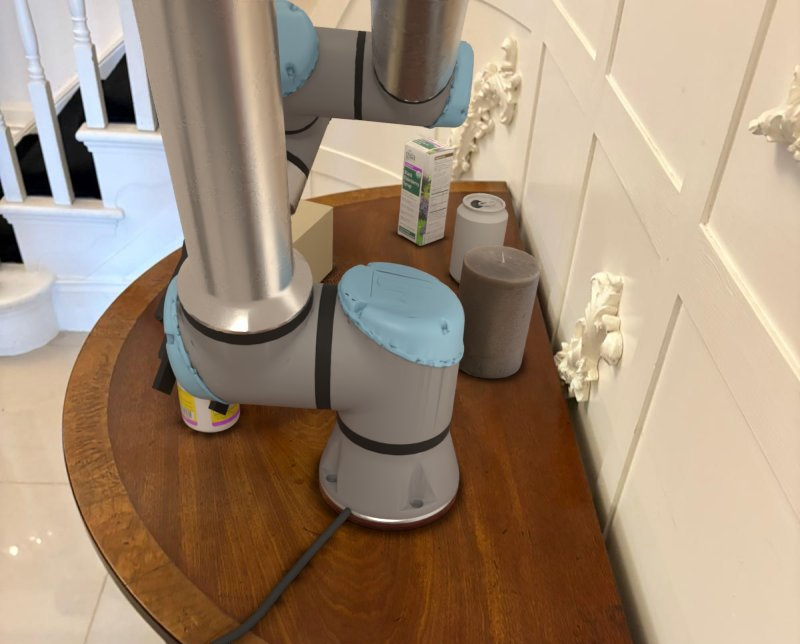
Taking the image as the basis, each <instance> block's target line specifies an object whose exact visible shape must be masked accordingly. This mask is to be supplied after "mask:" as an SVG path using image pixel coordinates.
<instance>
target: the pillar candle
mask: <svg viewBox="0 0 800 644" xmlns="http://www.w3.org/2000/svg"><path fill="white" fill-rule="evenodd" d="M542 269H543V266H542V263H541V262H540V261H539V260H538V259H537V258H535V257H534V256H533V255H531V254H529V253H528V252H527V251H524V250H521V249H517V248H515V247H511V246H505V245H503V246H500V245H491V246H480V247H476V248H473V249H471V250H469V251H467V252H466V254H465V256H464V259H463V266H462V272H461V278H460V283H459V286H458V293H457V297H458V299H459V301H460V303H461V305H462V307H463V311H464V318H465V322H464V333H463V344H464V353H463V357H462V358H461V360H460V361H459V368H458V370H460V371H462V372H463V373H465V374H467V375H469V376H472V377H476V378H481V379H502V378H507V377H510V376H512V375H514V374H516V373H517V372H518V371H519V369H520V368H521V365H522V362H523V357H524V352H525V349H526V344H527V338H528V333H529V330H530V324H531V319H532V314H533V310H534V305H535V301H536V296H537V291H538V286H539V281H540V278H541V271H542Z"/></svg>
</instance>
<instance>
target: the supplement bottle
mask: <svg viewBox="0 0 800 644" xmlns="http://www.w3.org/2000/svg"><path fill="white" fill-rule="evenodd" d="M176 387H177V388H176V389H177V392H178V400H179V406H180V412H181V418H182V420H183V422H184V423H185V424H186V425H187V426H188V427H189V428H190V429H193V430H195V431H198V432H202V433H218V432H223V431H225V430H228V429H229V428H231V427H233V426H234V425H235V424H236V423H237V422H238V420H239V419H240V416H241V406H240V405H241V404H232V405H231V404H230V405H229V408H228V410H227V413H226V416H225V415H222V414H219V413H217V412H215V411H213V410H210V409H208V407H209V404H210V402H211V400H205V399H199V398H196V397H194V396H192V395H190V394H189V393H188V392H186V391H185V390H184V389H183V388H182V386H181V385H180V383H179V382H178V380H177V379H176Z"/></svg>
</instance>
